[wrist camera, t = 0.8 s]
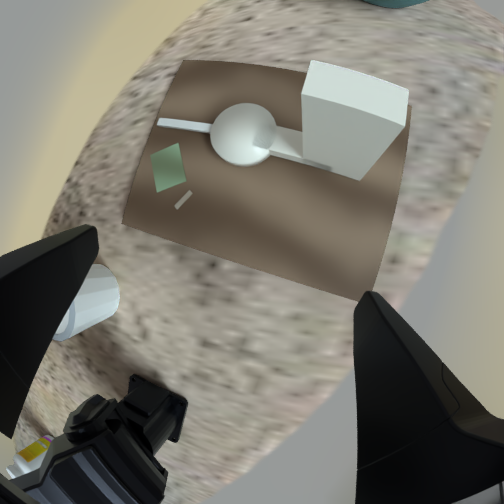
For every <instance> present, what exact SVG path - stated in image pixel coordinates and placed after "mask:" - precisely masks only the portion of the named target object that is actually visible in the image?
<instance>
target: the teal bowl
mask: <svg viewBox="0 0 504 504" xmlns="http://www.w3.org/2000/svg"><path fill="white" fill-rule="evenodd" d="M364 1H366V2H368V3H371V4H374V5H378V6H383V7H389V8H402V7H407V6H412V5H416V4H420V3H423V2H426V1H429V0H364Z"/></svg>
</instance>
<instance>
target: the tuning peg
mask: <svg viewBox="0 0 504 504" xmlns="http://www.w3.org/2000/svg"><path fill="white" fill-rule="evenodd" d="M408 93H409V90H408V89H406V88H403V87H401V86H398V85H395V84H393V83H390V82H387V81H385V80H382V79H379V78H376V77H373V76H370V75H367V74H364V73H361V72H357V71H354V70H351V69H347V68H343V67H340V66H336V65H332V64H328V63H324V62H319V61H315V60H311V63H310V66H309V69H308V73H307V76H306V79H305V83H304V86H303V89H302V92H301V103H302V132H300V131H296V130H292V129H288V128H284V127H280V126H276V122H275V120H274V118H273V116H272V115H271V113H270V112H269V111H268V110H266V109H265V108H264V107H262V106H259V105H257V104H252V103H241V104H236V105H233V106H231V107H229V108H227V109H225V110H224V111H223V112H222V113H220V114H219V116H218V117H217V118H216V119H215V121H214V123H213V124H207V123H200V122H193V121H185V120H177V119H168V118H159V120H158V123H157V125H158V126H160V127H168V128H176V129H183V130H190V131H197V132H203V133H209V134H210V138H211V143H212V146H213V148H214V150H215V151H216V152H217V153H218V154H219V156H220V157H221V158H222V159H223V160H225V161H226V162H227V163H229V164H231V165H234V166H239V167H249V166H254V165H257V164H259V163H261V162H263V161H264V160H266V159H267V158H268V157H269V156H270V155H273V156H277V157H281V158H284V159H288V160H292V161H296V162H299V163H303V164H307V165H310V166H314V167H317V168H320V169H324V170H327V171H330V172H334V173H337V174H340V175H343V176H346V177H349V178H352V179H355V180H358V181H360V180H361V179H362V178H363V177H364V175H365V174H366V173H367V172H368V171H369V170H370V168H371V167H372V166H373V165H374V164H375V162H376V161H377V160H378V159H379V158H380V156H381V155H382V154H383V153H384V152H385V150H386V149H387V148H388V147H389V146H390V144H391V143H392V142H393V141H394V139H395V138H396V137H397V136H398V135H399V133H400V132H401V131H402V130H403V128H404V127H405V123H406V115H407V105H408Z"/></svg>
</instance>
